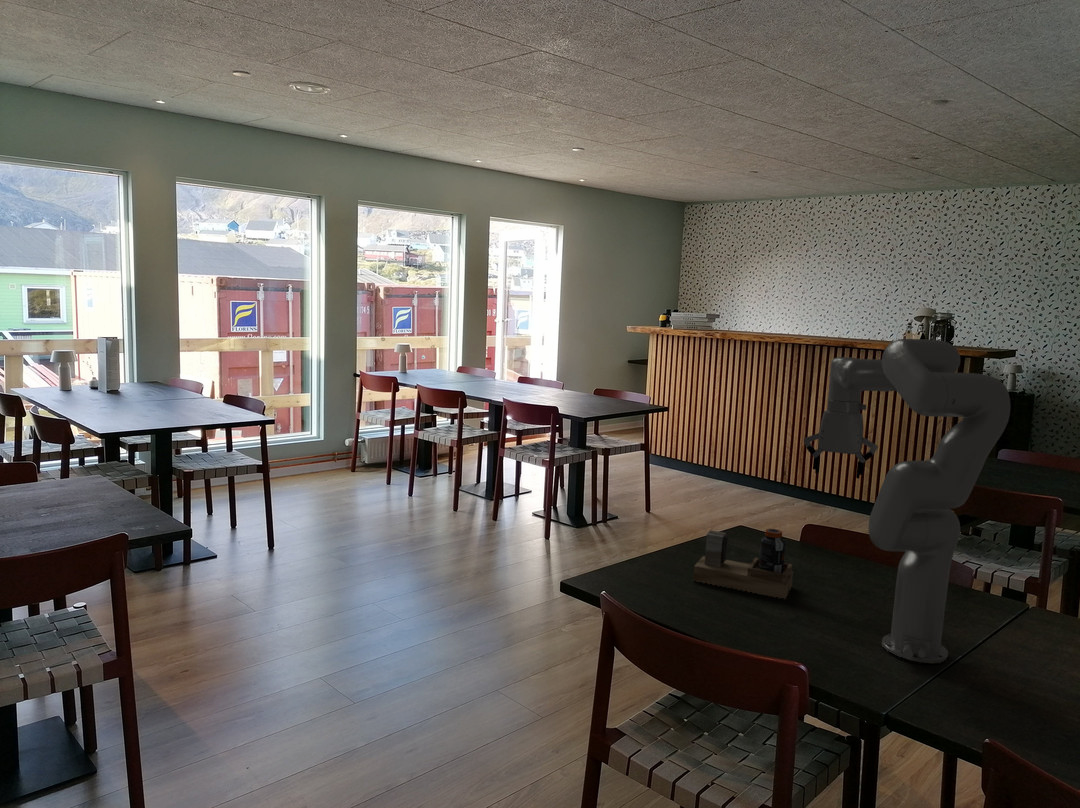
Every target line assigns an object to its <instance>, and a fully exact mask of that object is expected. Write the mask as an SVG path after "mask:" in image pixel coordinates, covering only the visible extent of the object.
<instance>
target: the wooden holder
mask: <svg viewBox="0 0 1080 808" xmlns="http://www.w3.org/2000/svg"><path fill="white" fill-rule="evenodd" d="M705 541H706V542H705V553H704V554H705V555H703V556H702V557H700V559H699V560H698V561H697V562H696V563H695V565H694V566H693V575H692V581H693V582H695V581H696V583H700V582H702V583H701V584H705V583H707V585H710V584H712V585H711V586H715V585H717V586H716V587H720V586H722V587H721V588H725V587H726V589H730V588H733V589H732V590H735V589H737V591H740V590H742V591H741V592H745V591H747V592H746V593H750V592H752V593H751V594H755V593H757V595H761V596H762V595H763V596H766V595H767V597H771V596H772V598H776V597H778V598H777V599H781V598H784V599H783V600H787V598H788V596H789V594H790V592H791V590H792V588H791V587H793V577H794V572H793V571H792V569H793V564H792V563H787V562H784V568H783V574H782V573H777V572H772V571H766V570H761V569H759V558H760V557H754V559H753V560H752V561H751V563H746V562H740V561H736V560H731V559H727V551H728V537H727V532H722V531H717V530H711V529H710V530H709V531H708V533H706V540H705ZM790 589H791V590H790ZM789 591H790V592H789ZM788 593H789V594H788ZM787 595H788V596H787ZM786 597H787V598H786Z"/></svg>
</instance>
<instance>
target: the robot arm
mask: <svg viewBox="0 0 1080 808" xmlns="http://www.w3.org/2000/svg"><path fill="white" fill-rule="evenodd" d="M960 365H961V355H960V353H959V351H958V350H957V348H956V347H955V346H954V345H952V344H951V343H949V342H948V341H945V340H939V339H924V338H923V339H921V338H915V339H914V338H900V339H899V338H898V339H896V340H893V341H891V342H890V343H889V344H888V345H887V346H886V347H885V349H884V351H883V353H882V356H881V359H880V358H879V359H878V358H877V359H871V358H866V359H865V358H864V359H863V358H857V357H846V356H840V357H839V356H837V357H834V358H833V359H832V360H831V363H830V371H829V372H830V374H829V385H828V396H827V405H826V406H827V408H826V410H824V411H823V414H822V417H821V421H820V427H819V432H818V433H815V434H812V435H810V436H807V437H805V438H803V443H804V445H805V447H806V449H807V452H809V453H810V455H812V458H813V459H812V460H813V461H812V462H813V463H812V470H814V474H816V475H817V474H819V472H820V464H821V456H820V455H821V454H822V453H823V452H826V453H827V452H829V453H837V454H846V455H855V457H856V458H857V464H856V465H857V466H856V476H855V479H860V476H863V475H864V466H865V463H866V462H867V461H868V460H869V459H871V458H873V456H874V454H875V453H876V452H877V451H878V448H879V447H878V446H879V445H877V444H876V443H874V442H872V441H871V440H869V439H867V438H866V437H864V417H863V413H860V412H861V411H866V410H867V404H864V403H862V402H861V399H862V392H897V393H898V394H899V396H900V397H901V399H902V400H903V401H904V402H905V403H906V405H907V406H908V407H909V408H910V409H911V410H912V411H913V412H914V413H916V414H918V415H921V416H923V417H924V416H925V417H941V418H943V417H945V418H948V417H950V418H955V417H957V418H958V417H959V418H962V419H961V420H960V421H959V422H958V423H956V424H955V425H954V426H952V427H951V428H950V429H949V430H948V431H947V432H946V433H945V434H944V435H943V436H942V438H941V439H940V441H939V443H938V445H937V447H936V450H935V452H934V454H933V456H932V457H931V458H929V459H926V460H906V461H905V460H904V461H901V462H898V463H896V464H895V465H893V466H892V467H891V468H890V469H889V470H888V471H887V473H886V475H885V477H884V479H883V481H882V485H881V487H880V490H879V491H878V495H877V497H876V499H875V502H874V505H873V508H872V510H871V513H870V516H869V519H868V535H869V538H870V541H871V543H872V544H873V545H874V546H875V547H877V548H878V549H880V550H883V551H886V552H904V553H903V555H902V557H901V559H900V561H899V564H898V567H897V575H896V580H895V581H896V583H895V592H894V601H893V602H894V603H893V609H892V610H893V611H892V619H891V620H892V621H891V626H890V627H891V628H890V629H891V630H890V633H889V634H886V635H884V636H883V637H882V639H881V646H882V648H883V647H884V648H885V649H886V650H887V651H886V650H885V649H884V648H883V649H884V650H885V651H886V652H888V651H889V652H891V653H893V654H895V655H897V656H899V657H903V658H906V659H910V660H914V661H920V662H939V661H943V660H945V659H946V658H947V657H948V658H949V651H948V650H947V648H946V647H945V646H944V645H942V637H943V630H944V628H943V627H944V622H945V621H944V620H945V611H946V604H947V594H948V589H949V588H948V587H949V579H950V574H951V573H950V571H951V565H952V561H953V557H954V555H955V554H954V553H955V551H956V548H957V546H958V545H957V544H958V542H959V539H960V535H961V523H960V520H959V517H958V516H957V514H956V513H955V512H954V511H953V510H952V509H956V508H959V507H962V506H963V505H964V504H965V503H966V502H967V500H968V499H969V497H970V495H971V493H972V491H973V489H974V487H975V485H976V482H977V481H978V477H979V476H980V474H981V472H982V469H983V467H984V465H985V462H986V460H987V458H988V456H989V454H990V453H991V451H992V450H993V448H994V447H995V445H996V444H997V442H998V441H999V439H1000V438H1001V436H1002V434H1003V433H1004V432H1005V429H1006V427H1007V425H1008V423H1009V420H1010V415H1011V398H1010V394H1009V391H1008V389H1007V387H1006V385H1005V384H1004V383H1003V381H1001V380H999V379H998V378H996V377H994V376H991V375H988V374H982V373H977V372H976V373H975V372H974V373H973V372H957V371H958V369H959V368H960ZM816 440H818V442H817V443H818V444H817V446H818V448H817V449H815V447H813V445H812V442H814V441H816ZM863 445H865V446H866V447H868V448H870V449H869V450H868V452H866V453H865V454H863V453H862V448H863ZM889 652H888V653H889ZM899 657H898V658H899Z"/></svg>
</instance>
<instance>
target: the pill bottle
mask: <svg viewBox="0 0 1080 808" xmlns="http://www.w3.org/2000/svg"><path fill="white" fill-rule="evenodd" d="M782 537H783V531H782V530H780V529H777V528H767V529H765V535H764V536H763V537H761V538H760V539H761V540H760V547H759V557H758V558H759V569H761V570H766V571H772V572H777V573H782V574H783V568H784V563H785V554H786V553H785V551H786V541H785V540H784V539H783V538H782Z"/></svg>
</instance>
